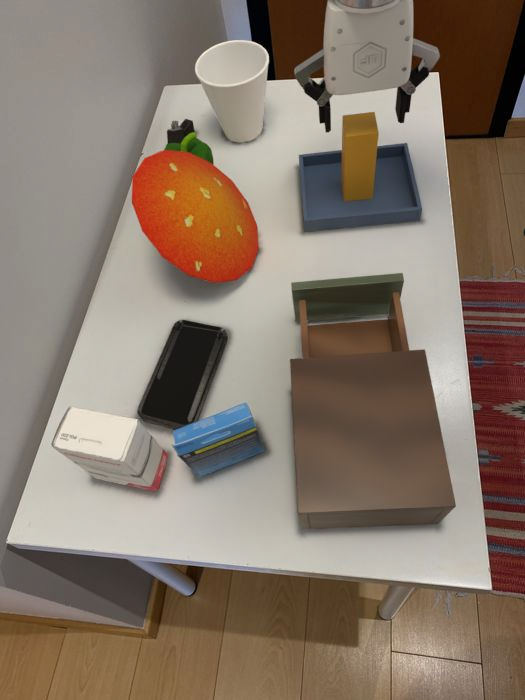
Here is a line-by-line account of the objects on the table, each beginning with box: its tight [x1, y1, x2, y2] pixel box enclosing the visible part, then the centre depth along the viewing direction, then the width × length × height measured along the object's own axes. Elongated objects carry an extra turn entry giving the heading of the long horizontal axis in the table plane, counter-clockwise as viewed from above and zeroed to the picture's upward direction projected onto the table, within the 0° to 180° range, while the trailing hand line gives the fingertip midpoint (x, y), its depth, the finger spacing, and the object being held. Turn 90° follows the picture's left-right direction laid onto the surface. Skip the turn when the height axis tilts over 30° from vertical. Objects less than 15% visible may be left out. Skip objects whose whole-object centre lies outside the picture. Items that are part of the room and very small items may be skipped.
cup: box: [194, 39, 270, 144], centre depth 85 cm, size 12×12×12 cm
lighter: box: [166, 118, 196, 144], centre depth 89 cm, size 8×2×5 cm
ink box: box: [50, 406, 169, 492], centre depth 58 cm, size 9×5×12 cm, turn 77°
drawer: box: [290, 272, 410, 358], centre depth 62 cm, size 17×14×7 cm
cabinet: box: [289, 348, 457, 531], centre depth 56 cm, size 17×15×9 cm
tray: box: [298, 142, 423, 233], centre depth 79 cm, size 17×14×2 cm
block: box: [341, 111, 380, 202], centre depth 75 cm, size 4×4×12 cm
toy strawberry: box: [131, 149, 260, 284], centre depth 72 cm, size 15×21×15 cm
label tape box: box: [170, 401, 266, 478], centre depth 57 cm, size 9×4×12 cm, turn 110°
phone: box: [136, 319, 229, 430], centre depth 68 cm, size 8×1×15 cm
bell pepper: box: [163, 131, 215, 166], centre depth 80 cm, size 8×8×10 cm
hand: (363, 121), depth 69 cm, fingers open, 9 cm apart
